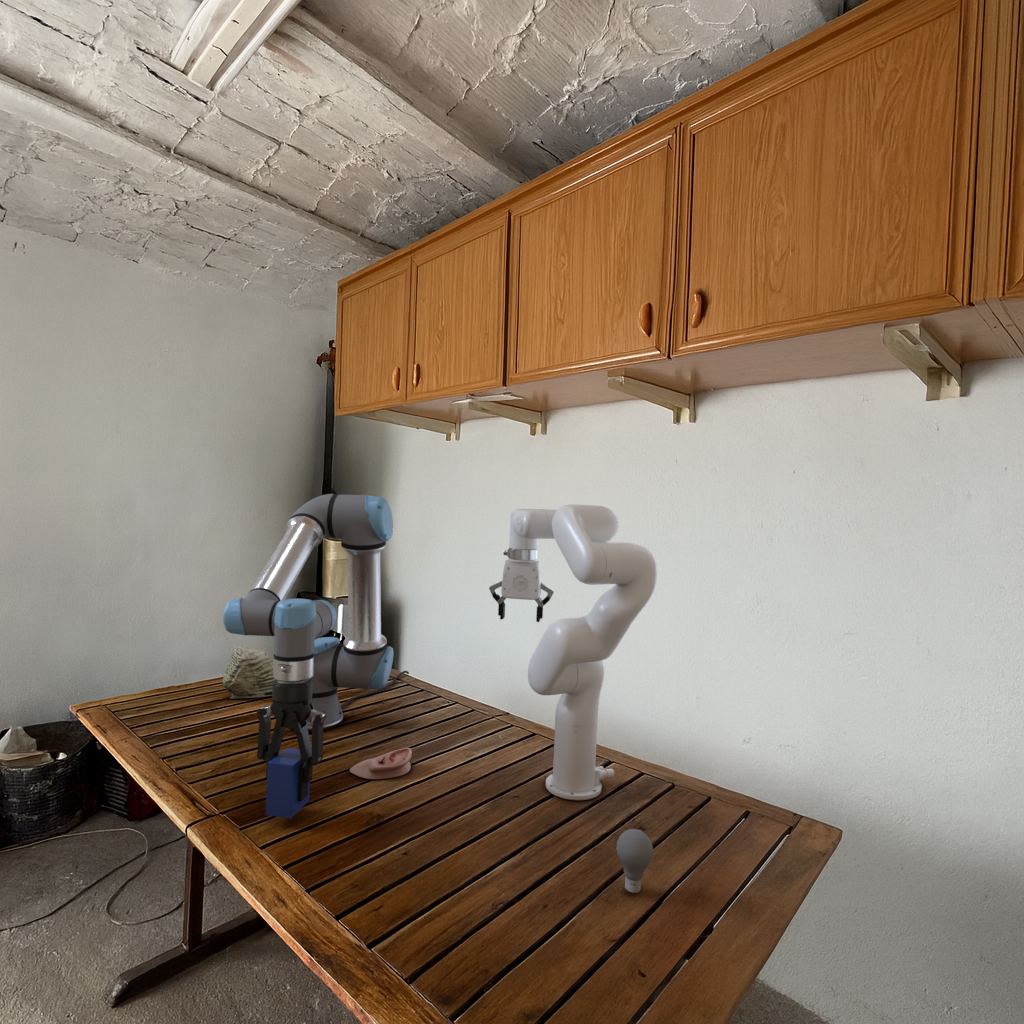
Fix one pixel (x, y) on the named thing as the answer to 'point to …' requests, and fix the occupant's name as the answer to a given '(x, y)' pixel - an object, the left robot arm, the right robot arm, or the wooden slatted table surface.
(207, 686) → the wooden slatted table surface
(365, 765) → the anatomical model
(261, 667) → the fossil
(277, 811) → the brick
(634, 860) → the light bulb
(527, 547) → the right robot arm
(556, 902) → the wooden slatted table surface
